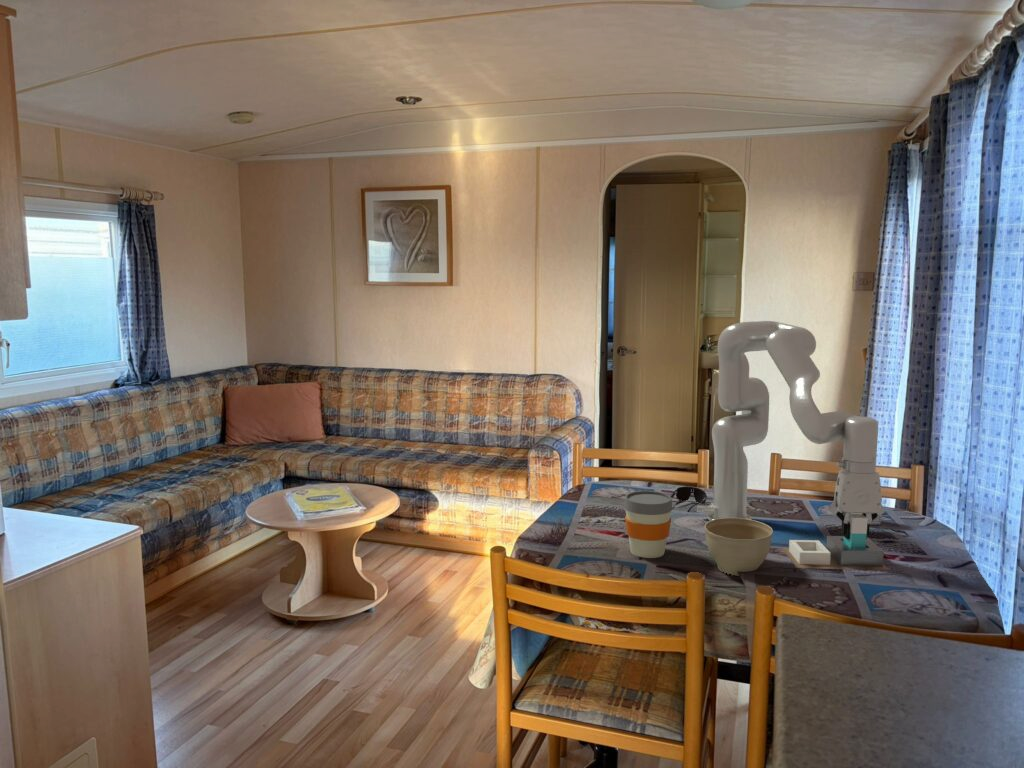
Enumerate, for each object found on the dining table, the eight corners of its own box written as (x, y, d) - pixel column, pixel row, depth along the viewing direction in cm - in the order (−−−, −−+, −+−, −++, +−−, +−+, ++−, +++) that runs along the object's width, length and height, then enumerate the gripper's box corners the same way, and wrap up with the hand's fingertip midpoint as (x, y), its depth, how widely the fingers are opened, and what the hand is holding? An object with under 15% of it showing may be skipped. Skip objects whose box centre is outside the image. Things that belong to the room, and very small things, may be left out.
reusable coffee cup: (635, 563, 190) (636, 506, 188) (616, 546, 202) (616, 492, 200) (680, 557, 193) (681, 502, 191) (658, 541, 205) (659, 488, 203)
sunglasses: (708, 503, 239) (708, 489, 238) (695, 518, 229) (695, 503, 228) (677, 498, 245) (677, 484, 243) (663, 512, 235) (662, 498, 234)
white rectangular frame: (799, 563, 184) (799, 552, 184) (789, 551, 193) (789, 539, 192) (829, 564, 184) (830, 553, 183) (818, 551, 192) (818, 540, 192)
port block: (840, 566, 183) (841, 550, 182) (826, 550, 193) (827, 535, 192) (882, 566, 182) (883, 551, 181) (866, 551, 192) (866, 536, 191)
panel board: (796, 573, 182) (797, 567, 182) (780, 552, 196) (781, 547, 195) (889, 575, 180) (890, 569, 180) (866, 554, 194) (867, 548, 194)
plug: (850, 556, 185) (852, 517, 183) (843, 549, 190) (845, 511, 188) (865, 556, 184) (867, 518, 183) (857, 549, 189) (859, 511, 188)
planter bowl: (719, 552, 196) (720, 513, 195) (780, 567, 186) (782, 525, 184) (692, 571, 184) (693, 529, 182) (756, 588, 174) (757, 544, 172)
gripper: (829, 470, 181) (825, 542, 183) (900, 470, 179) (895, 543, 182) (819, 462, 188) (816, 531, 191) (887, 463, 187) (882, 532, 190)
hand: (854, 536), depth 186 cm, fingers closed on plug, 3 cm apart
